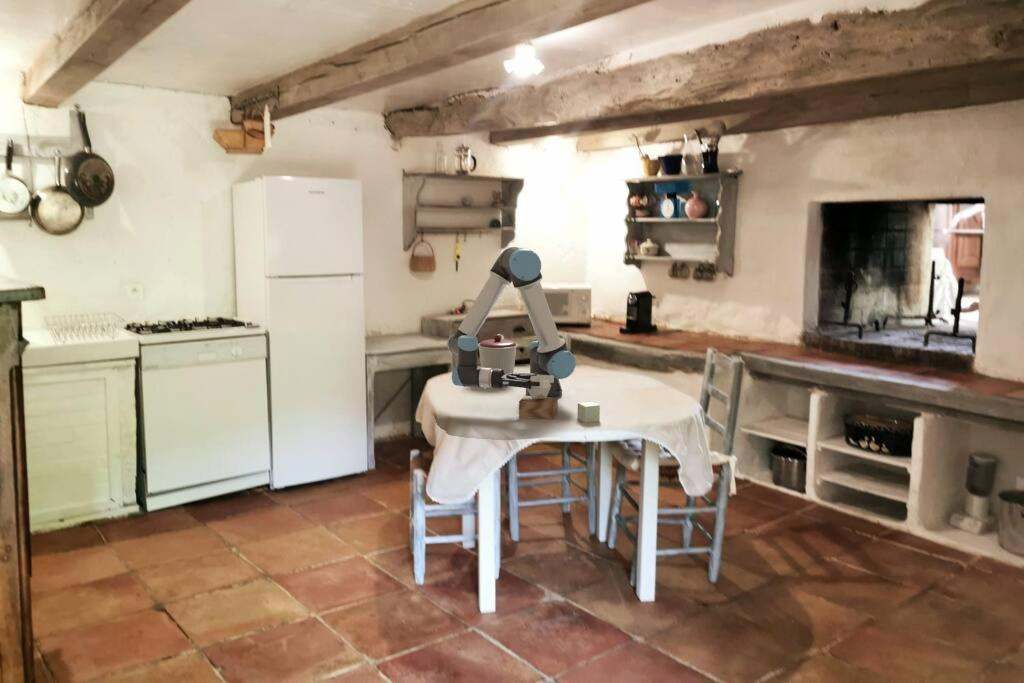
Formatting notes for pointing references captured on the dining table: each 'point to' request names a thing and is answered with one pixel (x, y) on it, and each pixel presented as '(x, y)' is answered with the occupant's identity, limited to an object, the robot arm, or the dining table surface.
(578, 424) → the dining table surface
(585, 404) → the green cube
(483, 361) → the canister
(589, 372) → the dining table surface
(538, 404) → the plinth
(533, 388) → the die
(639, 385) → the dining table surface
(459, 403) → the dining table surface
